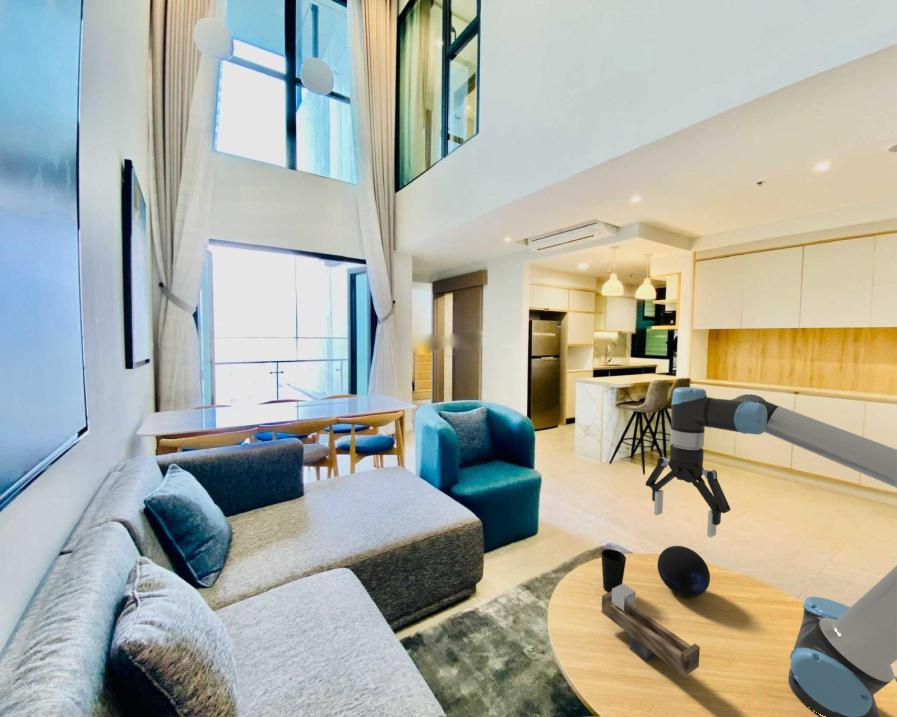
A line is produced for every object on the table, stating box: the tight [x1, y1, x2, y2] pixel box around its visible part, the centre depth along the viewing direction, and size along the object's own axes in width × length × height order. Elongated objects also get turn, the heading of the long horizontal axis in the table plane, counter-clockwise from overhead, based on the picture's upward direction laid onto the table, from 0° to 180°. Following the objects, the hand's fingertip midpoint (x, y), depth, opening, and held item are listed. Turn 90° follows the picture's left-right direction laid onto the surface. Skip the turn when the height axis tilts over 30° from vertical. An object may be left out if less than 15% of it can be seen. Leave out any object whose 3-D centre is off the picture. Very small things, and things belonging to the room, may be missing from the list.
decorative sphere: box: [657, 545, 711, 598], centre depth 127 cm, size 15×15×15 cm
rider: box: [611, 583, 636, 614], centre depth 109 cm, size 4×5×7 cm
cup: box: [600, 548, 627, 593], centre depth 128 cm, size 8×8×12 cm
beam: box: [601, 591, 701, 678], centre depth 103 cm, size 24×6×9 cm, turn 29°
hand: (683, 524), depth 101 cm, fingers open, 13 cm apart
